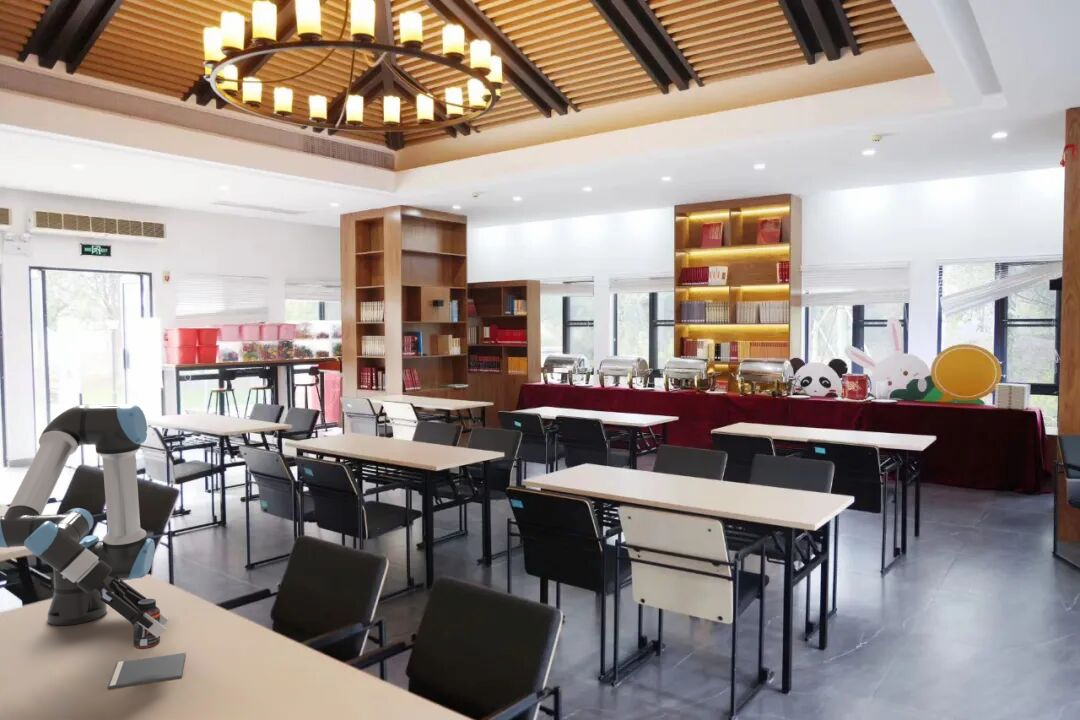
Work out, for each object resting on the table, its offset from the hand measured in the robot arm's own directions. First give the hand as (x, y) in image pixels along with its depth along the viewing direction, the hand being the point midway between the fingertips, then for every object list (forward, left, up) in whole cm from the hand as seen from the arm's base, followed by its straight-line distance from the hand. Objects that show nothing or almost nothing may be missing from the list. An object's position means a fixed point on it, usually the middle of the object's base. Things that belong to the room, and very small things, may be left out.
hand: (163, 628), depth 189 cm
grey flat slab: (-1, -4, -11) cm, 11 cm away
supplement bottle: (0, -4, -4) cm, 6 cm away
